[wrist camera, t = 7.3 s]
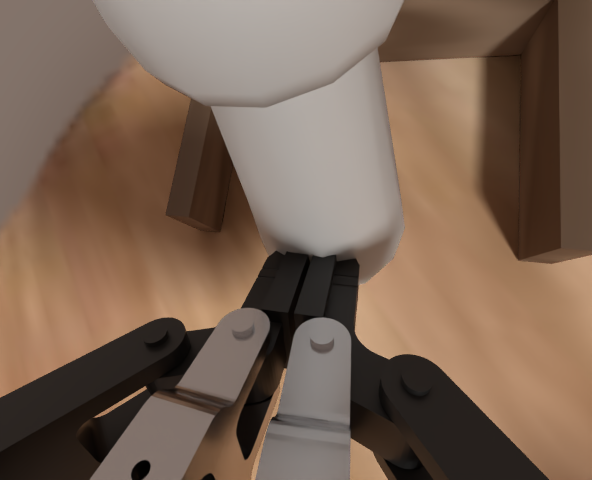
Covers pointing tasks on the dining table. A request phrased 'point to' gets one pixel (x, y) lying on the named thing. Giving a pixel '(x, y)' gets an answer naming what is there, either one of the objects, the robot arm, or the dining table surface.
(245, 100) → the salt shaker
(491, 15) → the walnut bay
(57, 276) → the dining table surface
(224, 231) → the dining table surface
